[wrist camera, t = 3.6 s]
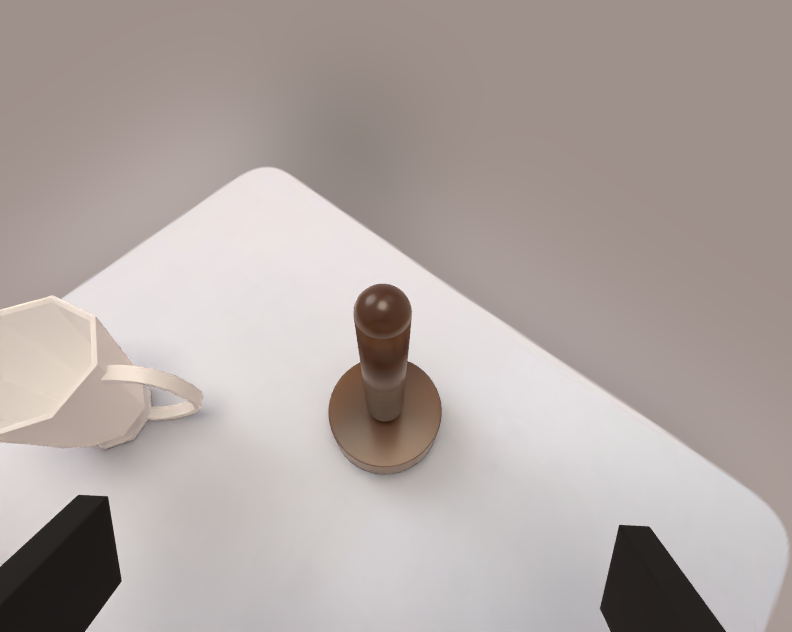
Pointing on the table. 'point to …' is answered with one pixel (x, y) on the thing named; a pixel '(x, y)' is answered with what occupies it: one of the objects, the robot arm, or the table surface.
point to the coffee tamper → (384, 390)
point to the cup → (75, 381)
